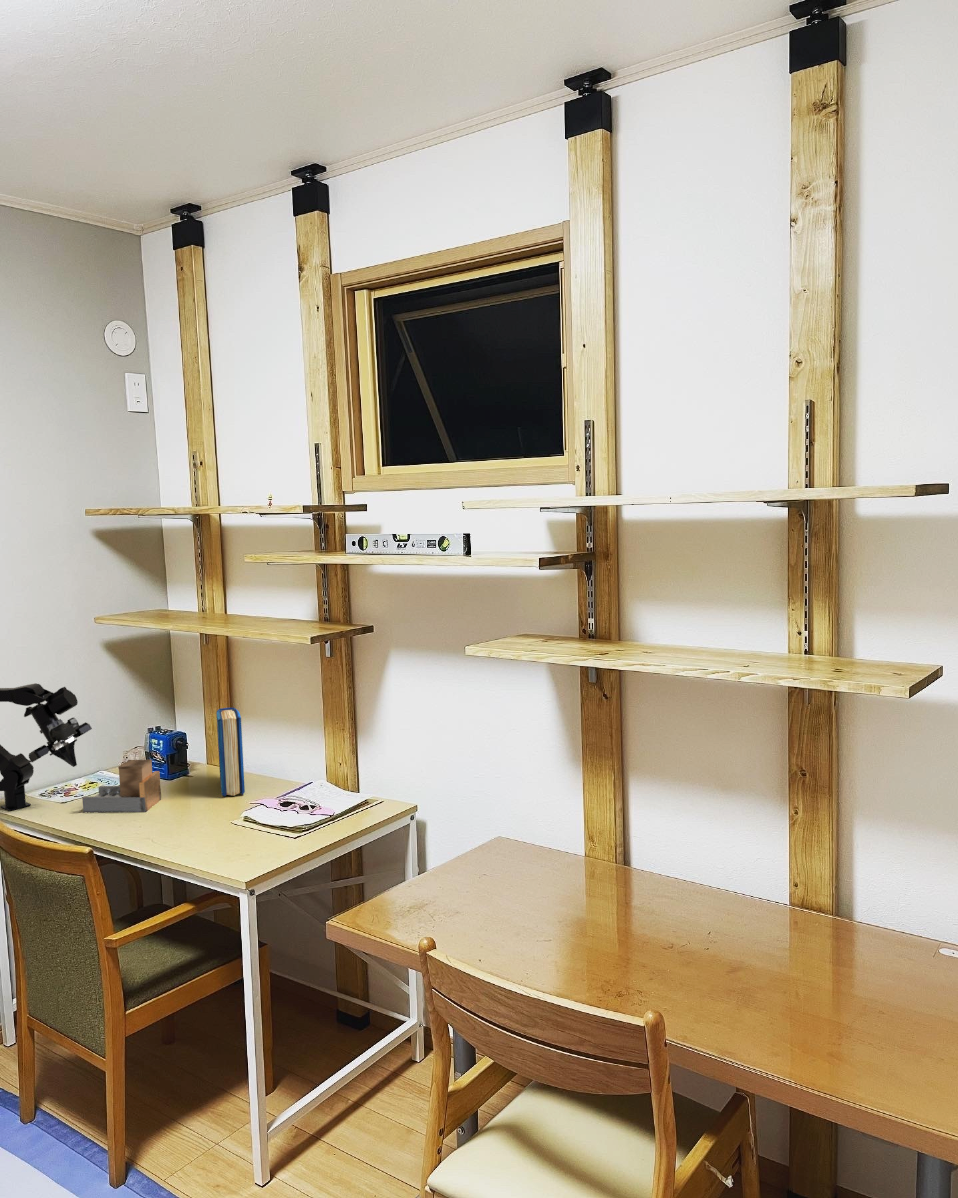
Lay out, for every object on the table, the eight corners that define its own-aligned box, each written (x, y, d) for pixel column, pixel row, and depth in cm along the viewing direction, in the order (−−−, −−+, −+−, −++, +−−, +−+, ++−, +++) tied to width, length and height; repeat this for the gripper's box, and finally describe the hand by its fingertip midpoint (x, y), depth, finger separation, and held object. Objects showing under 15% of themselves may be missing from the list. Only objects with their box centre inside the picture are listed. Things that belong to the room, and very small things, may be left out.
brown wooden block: (120, 799, 286) (118, 766, 285) (130, 791, 294) (128, 759, 293) (143, 799, 286) (141, 766, 285) (153, 791, 293) (151, 759, 292)
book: (219, 779, 316) (215, 705, 313) (241, 777, 318) (237, 703, 315) (221, 798, 295) (217, 719, 293) (245, 796, 297) (241, 717, 295)
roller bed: (83, 812, 285) (81, 783, 284) (101, 800, 296) (99, 771, 296) (145, 812, 284) (144, 782, 283) (161, 799, 295) (159, 771, 295)
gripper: (30, 729, 276) (58, 776, 277) (85, 701, 290) (112, 745, 291) (16, 739, 284) (44, 784, 285) (70, 710, 298) (97, 753, 299)
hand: (75, 766), depth 290 cm, fingers closed
